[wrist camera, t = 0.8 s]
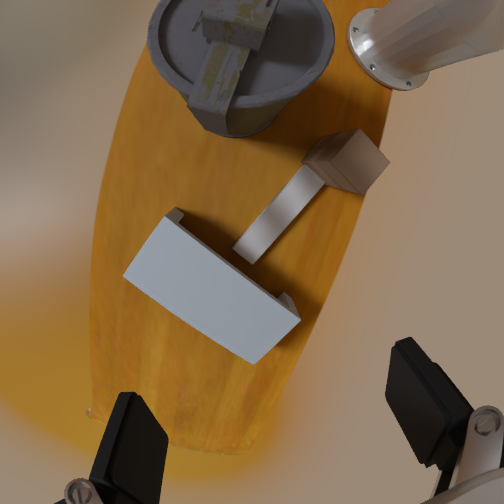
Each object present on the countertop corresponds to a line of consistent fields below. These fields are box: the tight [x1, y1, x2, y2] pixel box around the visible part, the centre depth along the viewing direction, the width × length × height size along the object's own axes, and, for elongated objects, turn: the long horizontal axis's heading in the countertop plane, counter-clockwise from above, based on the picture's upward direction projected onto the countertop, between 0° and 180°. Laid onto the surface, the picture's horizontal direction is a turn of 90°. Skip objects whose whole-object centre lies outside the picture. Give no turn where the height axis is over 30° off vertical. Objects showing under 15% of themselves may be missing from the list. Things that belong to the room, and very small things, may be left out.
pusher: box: [232, 128, 390, 265], centre depth 27 cm, size 16×4×10 cm, turn 139°
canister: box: [147, 0, 335, 138], centre depth 18 cm, size 11×10×20 cm
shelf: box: [123, 207, 301, 365], centre depth 32 cm, size 8×18×6 cm, turn 49°
